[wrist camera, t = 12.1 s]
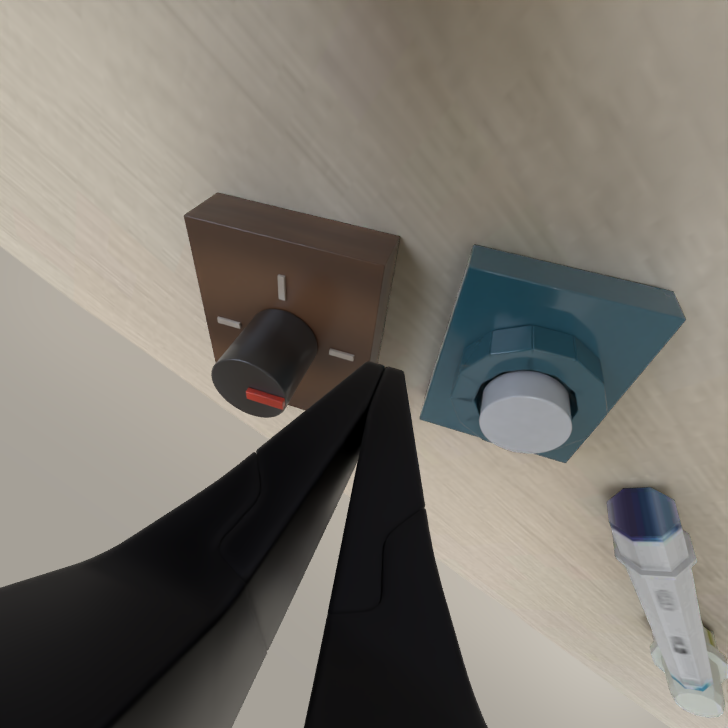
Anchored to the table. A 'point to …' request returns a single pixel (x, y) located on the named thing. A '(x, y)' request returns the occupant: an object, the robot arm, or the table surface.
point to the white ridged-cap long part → (668, 596)
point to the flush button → (525, 412)
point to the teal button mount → (546, 338)
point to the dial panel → (294, 281)
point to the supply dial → (265, 363)
